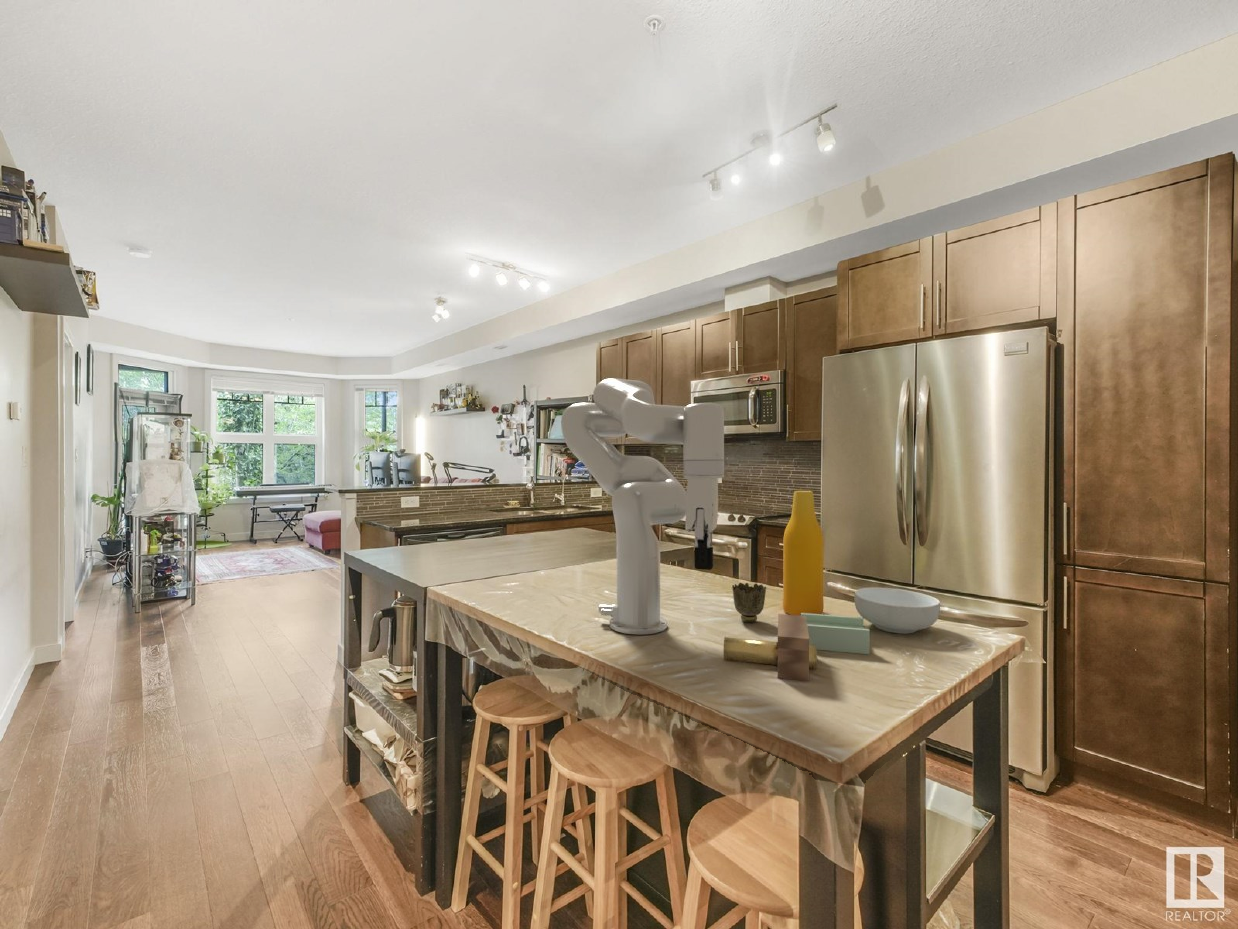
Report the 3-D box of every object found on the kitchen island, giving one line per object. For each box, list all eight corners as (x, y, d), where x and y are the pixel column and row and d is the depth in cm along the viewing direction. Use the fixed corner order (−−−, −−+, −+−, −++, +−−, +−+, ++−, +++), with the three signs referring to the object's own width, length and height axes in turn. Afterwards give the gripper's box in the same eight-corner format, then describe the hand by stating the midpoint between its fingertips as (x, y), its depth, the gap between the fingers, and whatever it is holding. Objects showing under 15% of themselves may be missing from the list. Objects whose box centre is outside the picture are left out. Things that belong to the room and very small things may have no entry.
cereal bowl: (912, 646, 110) (912, 610, 110) (838, 625, 124) (838, 593, 124) (955, 631, 120) (956, 598, 119) (882, 613, 133) (882, 583, 133)
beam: (777, 677, 94) (777, 636, 94) (778, 650, 108) (778, 614, 107) (808, 681, 93) (809, 639, 93) (805, 652, 106) (805, 616, 106)
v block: (802, 648, 109) (802, 625, 109) (800, 634, 117) (800, 612, 117) (869, 654, 105) (869, 630, 105) (862, 639, 114) (862, 617, 114)
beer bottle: (811, 606, 139) (812, 490, 139) (831, 617, 130) (831, 492, 130) (776, 608, 138) (777, 490, 137) (793, 618, 129) (794, 492, 128)
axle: (723, 663, 102) (723, 641, 101) (725, 655, 105) (725, 634, 105) (816, 672, 97) (816, 650, 97) (815, 664, 101) (815, 642, 101)
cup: (729, 623, 125) (729, 588, 125) (735, 615, 131) (735, 581, 131) (763, 627, 122) (763, 591, 122) (768, 618, 129) (768, 584, 129)
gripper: (689, 469, 112) (690, 560, 112) (676, 470, 98) (676, 575, 98) (727, 469, 110) (728, 562, 110) (719, 470, 96) (719, 577, 96)
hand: (703, 568), depth 104 cm, fingers closed
